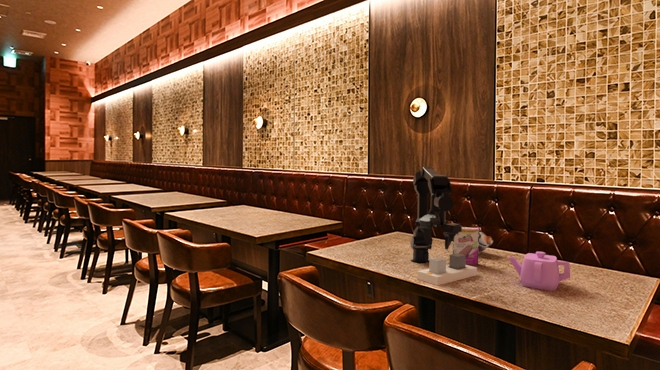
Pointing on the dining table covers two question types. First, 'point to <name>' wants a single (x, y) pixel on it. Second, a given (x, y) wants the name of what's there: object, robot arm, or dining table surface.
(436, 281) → the power strip
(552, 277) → the teakettle
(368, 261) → the dining table surface
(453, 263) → the twin plug
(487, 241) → the lucky cat figurine
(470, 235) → the candy bar box
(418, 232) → the robot arm
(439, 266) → the plug
